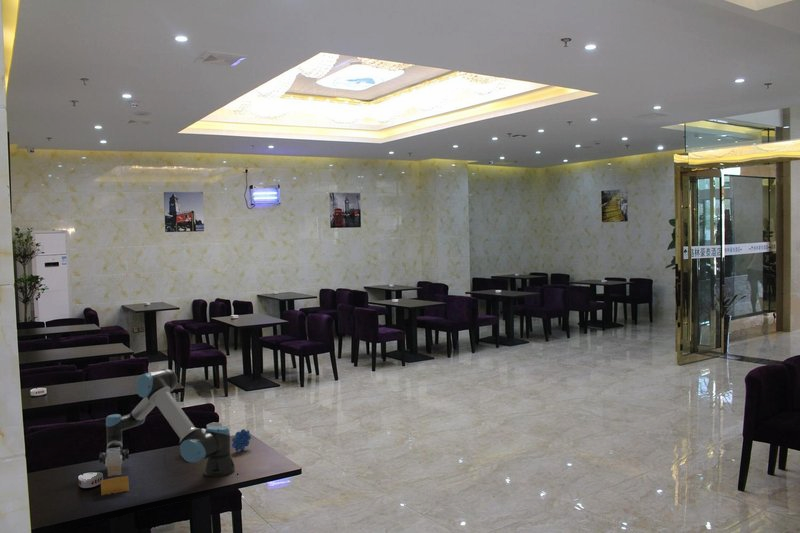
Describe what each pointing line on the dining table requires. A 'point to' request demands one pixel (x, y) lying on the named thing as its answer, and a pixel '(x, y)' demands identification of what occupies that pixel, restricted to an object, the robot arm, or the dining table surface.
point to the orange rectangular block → (114, 485)
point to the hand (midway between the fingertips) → (113, 462)
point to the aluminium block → (113, 461)
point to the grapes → (241, 440)
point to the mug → (214, 424)
